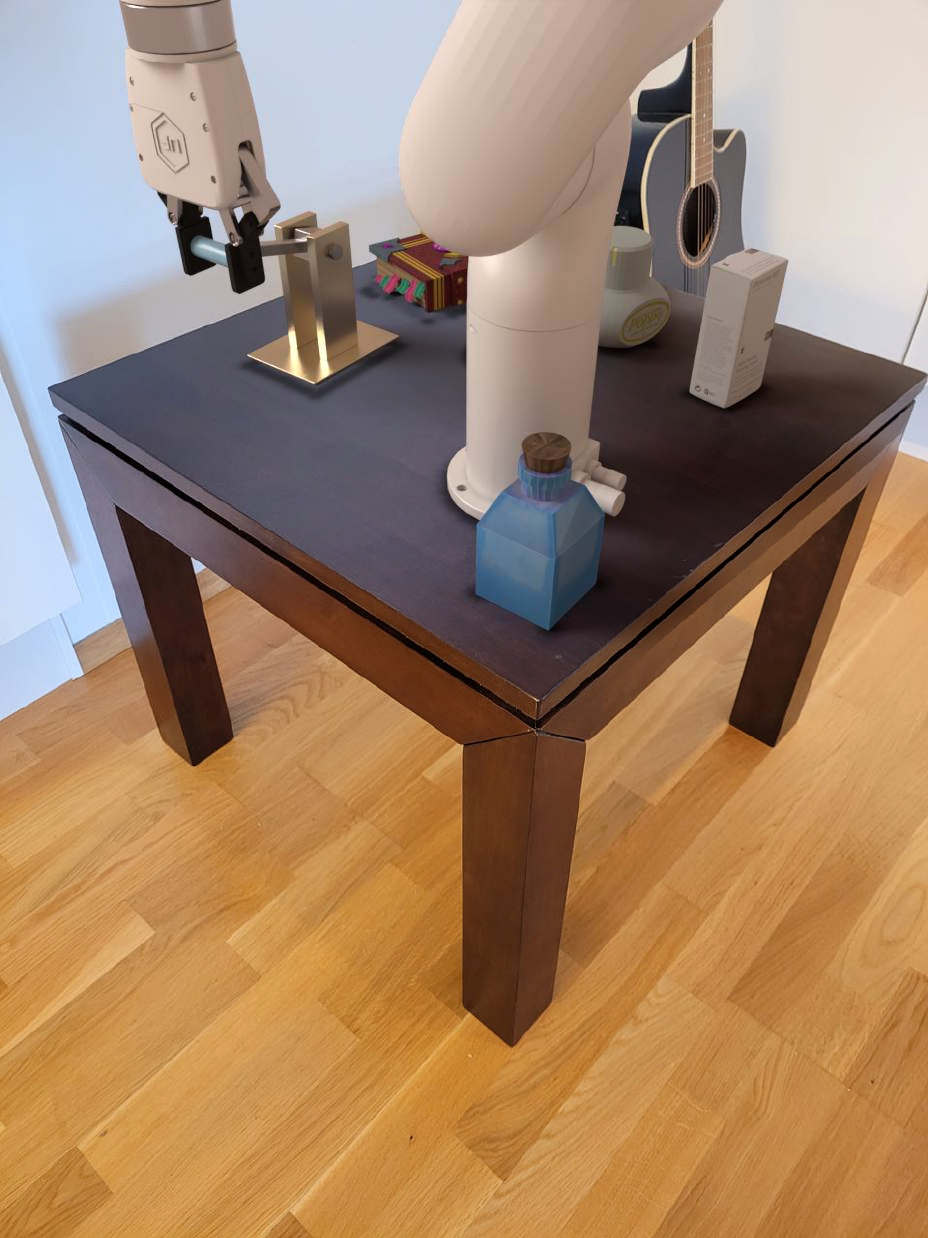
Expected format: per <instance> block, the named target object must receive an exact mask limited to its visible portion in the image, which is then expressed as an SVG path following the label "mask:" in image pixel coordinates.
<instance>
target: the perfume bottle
mask: <svg viewBox="0 0 928 1238" xmlns="http://www.w3.org/2000/svg"><path fill="white" fill-rule="evenodd" d="M571 447H572V445H571V442H570V441H569V440H568V439H567V438H566V437H564V436H562V435H560V434H557V433H552V432H538V433H534V434H531V435H529V436H527V437H525V439H524V440H523V441H522V450H523V453H522V454H521V456H520V457H519V461H518V476H519V478H518V479H517V480H516V481H514V482H513V483H512V484H511V485H509V486H508V487H507V488H506V489H504V490H503V491H502V492H501V493H500V494H499V495H498V497H497V498H496V499H495V501H494V502H493V503H492V505H491V506H490V507H489V509H488V510H487V512H486V513H485V514H484V516H483V517H482V518H481V520H478V522H477V524H476V546H475V547H476V548H475V549H476V550H475V551H476V552H475V555H476V556H475V595H476V596H478V597H481V598H483V599H484V600H487V601H489V602H490V603H492V604H495V605H496V606H498V607H501V608H502V609H505V610H507V611H508V612H510V613H513V614H514V615H517V616H518V617H520V618H523V619H524V620H526V621H529V622H530V623H532V624H534V625H537V626H539V627H540V628H542V629H544V630H546V631H548V632H549V631H550V630H551V629H552V628H554V626H555V625H556V624H557V623H558V622H559V621H560V620H561V619H562V618H563V617H564V616H565V615H566V614H567V613H568V612H569V611H570V610H571V609H572V608H573V607H574V606H575V605H576V604H577V603H578V602H579V601H580V600H581V599H582V598H583V597H584V596H585V595H586V594H587V593H588V592H589V591H590V590H591V589H592V588H593V587H594V586H595V585H596V584H597V577H598V571H599V564H600V563H599V562H600V556H601V546H602V540H603V531H604V523H605V517H606V513H604V512H603V511H602V509H601V508H600V506H599V505H598V503H597V502H596V500H595V499H594V497H593V496H592V494H591V493H590V491H589V490H588V488H587V487H586V486H585V485H583V484H581V483H578V482H576V481H573V480H571V472H572V460H571V457H570V456H569V454H570V451H571Z"/></svg>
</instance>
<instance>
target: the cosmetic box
mask: <svg viewBox="0 0 928 1238" xmlns="http://www.w3.org/2000/svg"><path fill="white" fill-rule="evenodd" d="M788 264H789V259H788V258H786V257H783V256H780V255H776V254H773V253H769V252H766V251H763V250H759V249H755V248H753V247H747V248H745V249H743V250H741V251H738V252H735V253H732V254H730V255H728V256H726V257H725V258H724V259H722V260H720V261H717V262H715V263H713V264H712V265H711V266H710V270H709V276H708V281H707V287H706V292H705V299H704V304H703V311H702V317H701V323H700V328H699V333H698V339H697V346H696V351H695V355H694V356H695V357H694V361H693V368H692V375H691V377H690V378H691V380H690V385H689V393H690V394H691V395H693V396H694V397H697V398H698V399H701V400H703V401H705V402H707V403H709V404H712V405H715V406H717V407H719V408H722V409H727V408H729V407H731V406H733V405H735V404H736V403H738V402H740V401H742V400H744V399H745V398H747V397H748V396H750V395H751V394H753V393H754V392H756V391H757V390H759V389H760V388H761V385H762V382H763V377H764V373H765V368H766V365H767V359H768V356H769V351H770V346H771V343H772V337H773V333H774V328H775V323H776V319H777V314H778V310H779V307H780V306H779V305H780V301H781V297H782V293H783V288H784V281H785V279H786V274H787V270H788V269H787V268H788Z"/></svg>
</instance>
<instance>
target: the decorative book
mask: <svg viewBox="0 0 928 1238" xmlns="http://www.w3.org/2000/svg"><path fill="white" fill-rule="evenodd" d="M368 252H369V253H370V254H372V255H374V256H375V257H376V271H377V272H376V274H374V275H370V278H372V279H373V280H374V281H375V282H376V283H378V284H379V286H380V287H381V288H382V291H384V292H385V293H387V294H390V293H391V292H393V290H394V289H395V290H396V292H399V293H400V294H401V295H404V299H405V301H407V302H409V303H411V304H412V303H413V302H414V303H417V304H418V305H420V306H421V307H422V308H424V311H425V312H426V313H431V312H435V311H438V310H441V309H444V308H447V307H451V306H452V307H455V306H459V305H462V304H465V303H467V277H468V261H469V256H464V255H460V254H456V253H453V252H450V251H448V250H446V249H444V248H442V247H441V246H439V245H437V244H436V243H435V242H433V241H432V240H431V239H430V238H428V237H427V236H426V235H425V234H424V233H423V231H422V230H421V229H419V233H418V234H414V235H410V236H405V237H402V238H400V237H395V238H391V239H387V240H384V241H379V242H375V243H371V244H368Z"/></svg>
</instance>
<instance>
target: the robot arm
mask: <svg viewBox="0 0 928 1238" xmlns="http://www.w3.org/2000/svg"><path fill="white" fill-rule="evenodd" d="M724 2H725V0H462V1H461V2H460V4H459V7H458V9H457V11H456V13H455V15H454V16H453V18H452V20H451V22H450V25H449V26H448V29H447V31H446V33H445V34H444V36H443V39H442V41H441V43H440V44H439V46H438V49H437V51H436V53H435V55H434V57H433V58H432V60H431V63H430V64H429V67H428V69H427V71H426V73H425V74H424V77H423V79H422V81H421V83H420V85H419V87H418V89H417V91H416V94H415V95H414V98H413V100H412V103H411V105H410V106H409V109H408V112H407V115H406V117H405V120H404V124H403V127H402V131H401V135H400V140H399V148H398V176H399V184H400V189H401V192H402V193H401V194H402V197H403V200H404V201H405V205H406V207H407V210H408V211H409V214H410V215H411V217H412V219H413V221H414V222H415V224H416V225H417V227H418V228H419V230H422V231H423V233H424V234H425V235H426V236H427V237H428V238H430V239H431V240H432V241H433V242H435V243H436V244H437V245H439V246H441V247H442V248H444V249H446V250H448V251H450V252H453V253H456V254H460V255H464V256H469V261H468V277H467V302H466V403H465V404H466V409H465V410H466V411H465V412H466V413H465V417H466V419H465V420H466V421H465V423H466V425H465V429H466V430H465V433H466V435H465V437H466V439H465V444H466V445H465V446H464V447H462V448H461V449H460V450H459V451H457V452H456V453H455V455H454V456H453V457H452V458H451V460H450V462H449V464H448V467H447V473H446V482H447V491H448V494H449V495H450V498H451V499H452V500H453V502H454V503H455V504H456V506H458V507H459V508H460V510H463V511H464V512H465V513H466V514H468V515H469V516H472V518H475V519H477V520H478V521H480V520H481V518H482V517H483V516H484V514H485V513H486V512H487V510H488V509H489V507H490V506H491V505H492V503H493V502H494V501H495V499H496V498H497V497H498V495H499V494H500V493H501V492H502V491H503V490H504V489H506V488H507V487H508V486H509V485H511V484H512V483H513V482H514V481H516V480H517V479H518V478H519V476H518V461H519V457H520V456H521V454H522V453H523V450H522V441H523V440H524V439H525V437H527V436H529V435H531V434H534V433H538V432H552V433H557V434H560V435H562V436H564V437H566V438H567V439H568V440H569V441H570V442H571V445H572V447H571V451H570V454H569V456H570V457H571V460H572V472H571V480H573V481H576V482H578V483H581V484H583V485H585V486H586V487H587V488H588V490H589V491H590V493H591V494H592V496H593V497H594V499H595V500H596V502H597V503H598V505H599V506H600V508H601V509H602V511H603V512H604V514H606V515H609V516H611V517H616V516H617V515H619V513H620V512H621V511H622V508H623V507H624V504H625V502H626V501H625V500H626V494H625V492H624V491H622V490H623V489H624V487H625V485H626V483H627V475H626V474H624V473H621V472H619V471H617V470H613V469H608V468H607V467H603V465H602V462H601V461H599V458H600V457H599V456H600V448H601V442H600V441H597V440H594V439H592V438H589V437H590V436H589V435H590V424H591V416H592V405H593V399H594V397H593V396H594V387H595V378H596V368H597V359H598V349H599V346H598V341H599V332H600V322H601V313H602V307H603V299H604V290H605V281H606V272H607V264H608V257H609V250H610V243H611V238H612V232H613V226H615V222H616V216H617V215H616V214H617V213H618V212H617V211H618V207H619V203H620V198H621V194H622V190H623V186H624V181H625V177H626V173H627V168H628V167H627V166H628V161H629V157H630V151H631V142H632V128H633V126H632V125H633V118H632V117H633V116H632V106H631V100H630V97H631V96H632V94H633V93H634V92H635V91H636V89H638V87H639V85H640V84H641V83H642V82H643V80H645V78H646V77H647V75H648V74H649V73H651V72H652V71H653V70H654V69H657V68H658V67H659V66H661V65H662V64H664V63H665V62H667V61H668V60H669V59H672V58H673V57H674V56H675V55H677V54H679V53H680V52H682V50H684V49H685V48H686V47H688V46H689V45H691V43H692V42H693V41H694V40H696V38H698V37H699V36H700V35H701V34H702V33H703V32H704V31H705V29H706V28H707V27H708V26H709V25H710V23H711V21H712V20H713V19H714V17H715V15H716V14H717V12H718V11H719V9H720V8H721V6H722V5H723V3H724ZM118 3H119V7H120V11H121V12H120V13H121V17H122V21H123V26H124V31H125V35H126V40H127V44H128V45H127V46H125V49H124V50H125V51H124V52H125V54H124V56H125V59H124V63H125V64H124V65H125V78H126V79H125V80H126V89H127V90H126V91H127V99H128V107H129V115H130V120H131V126H132V133H133V139H134V145H135V149H136V155H137V160H138V164H139V165H138V166H139V168H140V172H141V176H142V179H143V181H144V183H145V184H146V185H147V186H148V187H149V188H151V189H152V190H154V191H156V193H157V194H156V195H157V196H158V197H159V199H160V200H161V202H162V203H163V205H164V206H165V207H166V209H167V210H166V211H167V212H166V214H167V219H168V221H169V223H170V224H171V225H172V226H175V227H174V229H175V235H176V241H177V245H178V250H179V255H180V259H181V265H182V269H183V273H184V274H185V275H188V276H190V277H192V276H195V275H197V274H200V273H202V272H204V271H206V270H208V269H211V268H213V267H215V266H217V264H216V263H214V262H211V261H208V260H205V259H203V258H200V257H197V256H195V255H194V254H193V253H192V251H191V242H192V240H193V238H194V237H195V236H198V235H201V236H204V237H206V238H209V239H212V240H214V236H213V231H212V230H213V229H212V225H211V220H210V217H209V216H207V215H203V214H204V208H205V209H209V210H213V211H217V212H218V213H219V216H220V218H221V221H222V224H223V227H224V230H225V233H226V236H227V238H228V241H229V242H228V243H227V242H226V243H224V244H225V253H226V259H227V265H228V268H227V269H228V270H227V271H228V276H229V281H230V288H231V290H232V292H233V293H235V294H238V295H241V294H243V293H246V292H248V291H251V290H252V289H254V288H257V287H259V286H261V285H263V284H264V283H265V282H266V274H265V267H264V261H263V257H262V253H261V246H260V242H261V241H260V237H262V236H264V234H265V228H266V227H267V225H268V224H269V223H270V220H271V219H272V218H273V217H274V216H275V215H276V214H277V213H278V212H279V211H280V209H281V208H282V204H281V201H280V199H279V197H278V196H277V193H276V192H275V191H274V189H273V187H272V186H271V184H270V182H269V181H268V179H267V168H266V159H265V152H264V148H263V147H264V146H263V141H262V139H263V138H262V134H261V130H260V129H261V128H260V124H259V123H260V122H259V118H258V114H257V110H256V107H255V106H256V105H255V101H254V97H253V96H254V95H253V93H252V89H251V88H252V87H251V85H250V81H249V78H248V73H247V70H246V67H245V64H244V60H243V57H242V54H241V52H240V51H238V42H237V36H236V29H235V21H234V15H233V8H232V1H231V0H118ZM240 207H241V210H242V214H243V216H242V217H241V218H240V220H239V221H238V218H237V215H236V212H235V210H236V209H237V208H240Z"/></svg>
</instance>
